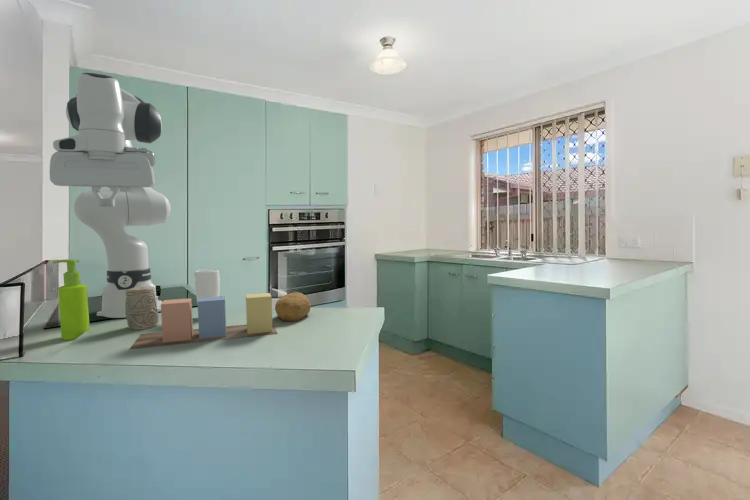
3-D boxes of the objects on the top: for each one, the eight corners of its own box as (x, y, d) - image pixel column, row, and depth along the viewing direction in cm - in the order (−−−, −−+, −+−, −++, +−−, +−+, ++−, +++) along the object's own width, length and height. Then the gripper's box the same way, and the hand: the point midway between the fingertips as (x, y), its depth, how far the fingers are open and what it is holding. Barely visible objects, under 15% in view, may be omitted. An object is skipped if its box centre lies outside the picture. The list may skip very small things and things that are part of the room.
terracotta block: (166, 336, 97) (164, 300, 96) (193, 334, 99) (191, 298, 98) (162, 342, 92) (160, 304, 91) (191, 339, 94) (189, 302, 93)
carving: (127, 331, 107) (124, 287, 106) (158, 327, 111) (156, 284, 110) (125, 337, 102) (123, 291, 101) (159, 333, 105) (157, 288, 104)
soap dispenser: (70, 333, 106) (64, 258, 104) (95, 333, 105) (90, 258, 104) (51, 340, 100) (45, 260, 98) (78, 340, 100) (72, 260, 98)
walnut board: (141, 340, 99) (140, 334, 99) (273, 327, 110) (272, 322, 110) (129, 355, 88) (129, 349, 88) (277, 339, 99) (277, 333, 98)
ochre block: (246, 328, 103) (245, 294, 102) (270, 326, 105) (269, 292, 104) (247, 334, 98) (246, 298, 98) (272, 331, 100) (271, 296, 100)
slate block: (200, 333, 99) (199, 297, 99) (226, 330, 101) (224, 296, 101) (199, 338, 95) (197, 301, 94) (226, 336, 97) (224, 299, 96)
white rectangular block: (212, 324, 113) (210, 272, 112) (191, 323, 115) (189, 271, 113) (225, 318, 120) (224, 269, 119) (205, 317, 121) (203, 268, 120)
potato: (267, 328, 109) (267, 299, 108) (284, 315, 123) (283, 290, 122) (302, 328, 108) (302, 299, 108) (315, 316, 122) (314, 290, 122)
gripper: (156, 150, 98) (159, 206, 99) (56, 146, 91) (60, 206, 92) (151, 146, 92) (154, 206, 93) (43, 141, 85) (48, 205, 86)
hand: (106, 206), depth 93 cm, fingers closed
